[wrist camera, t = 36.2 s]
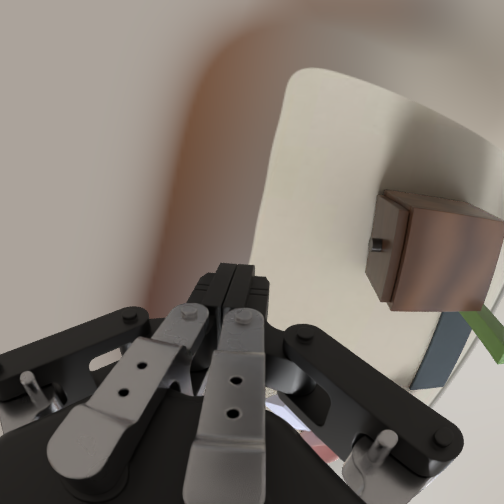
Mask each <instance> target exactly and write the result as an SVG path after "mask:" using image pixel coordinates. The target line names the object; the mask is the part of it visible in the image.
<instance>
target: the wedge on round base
mask: <svg viewBox="0 0 504 504" xmlns="http://www.w3.org/2000/svg"><path fill="white" fill-rule="evenodd" d="M265 405H266V406H267V407H268V408H269V409H270V410H271V411H273V412H274V413H275V414H276V415H278V416H280V417H281V418H283V419H284V420H285V421H287V422H288V423H289V424H290V425H291V426H292V427H293V428H294V429H298V430H306V431H309V432H310V431H311V430H310V429H309V428H308V427H307V426H306V425H305V424H304V423H303V422H302V421H301V420H300V419H299V418H298V417H297V416H296V415H295V414H294V413H293V412H292V411H291V410H290V409H289V408H288V407H287V406H286V405H285V404H284V403H283V402H282V401H281V400H280V398H279V397H278V394H276V395H273V396H271V397H268V398H265Z"/></svg>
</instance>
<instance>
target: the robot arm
mask: <svg viewBox="0 0 504 504" xmlns="http://www.w3.org/2000/svg"><path fill="white" fill-rule="evenodd" d="M269 285H270V283H269V281H268V280H267V278H266V277H260V276H255V265H244V264H238V265H237V264H229V263H220V265H219V267H218V269H217V271H216V273H207V274H205V275H204V276H202V277H201V278H200V280H199V281H198V283H197V285H196V286H195V288H194V290H193V292H192V294H191V295H190V297H189V299H188V301H187V303H184V304H180V305H178V306H176V307H175V308H173V309H172V310H171V312H170V313H169V315H168V316H167V317H166V318H156V319H149V314H148V312H147V311H146V310H145V309H143V308H141V307H126V308H122V309H120V310H117V311H115V312H112V313H109V314H107V315H104V316H101V317H99V318H97V319H94V320H91V321H88V322H86V323H83V324H80V325H78V326H75V327H72V328H70V329H67V330H65V331H62V332H59V333H57V334H54V335H51V336H48V337H46V338H43V339H40V340H38V341H35V342H32V343H30V344H27V345H25V346H22V347H19V348H17V349H14V350H11V351H8V352H6V353H3V354H1V355H0V421H1V426H2V430H3V434H4V435H2V436H1V437H0V504H407V503H408V502H409V501H410V500H411V499H412V498H413V497H415V496H416V495H417V494H418V493H419V492H421V490H423V489H424V488H425V487H426V486H427V485H428V484H429V483H431V482H432V481H433V480H434V479H435V478H436V477H437V476H438V475H439V474H440V473H441V472H442V471H443V470H444V469H445V468H446V467H447V466H448V465H449V464H450V463H451V462H452V461H453V460H454V459H455V458H456V457H457V456H458V455H459V454H460V452H461V451H462V449H463V445H464V439H463V435H462V433H461V431H460V430H459V428H458V427H457V426H456V425H454V424H453V423H452V422H450V421H449V420H447V419H446V418H444V417H443V416H441V415H440V414H438V413H437V412H436V411H434V410H433V409H431V408H430V407H428V406H427V405H426V404H424V403H423V402H421V401H420V400H418V399H417V398H416V397H414V396H413V395H411V394H410V393H408V392H407V391H406V390H404V389H403V388H401V387H400V386H398V385H397V384H396V383H394V382H393V381H391V380H390V379H389V378H387V377H386V376H384V375H383V374H382V373H380V372H379V371H377V370H376V369H375V368H373V367H372V366H370V365H369V364H368V363H366V362H365V361H364V360H362V359H361V358H359V357H358V356H357V355H355V354H354V353H352V352H351V351H350V350H348V349H347V348H346V347H344V346H343V345H342V344H340V343H339V342H337V341H336V340H335V339H333V338H332V337H331V336H329V335H328V334H326V333H325V332H324V331H322V330H321V329H320V328H318V327H316V326H313V325H309V324H296V325H293V326H290V327H289V328H287V329H286V330H285V331H282V330H278V329H276V328H274V327H272V326H271V325H270V324H269V323H268V322H267V315H268V302H269ZM117 348H120V351H121V354H122V357H121V359H120V360H119V361H116V362H114V363H112V364H109V365H107V366H105V367H102V368H100V369H98V370H95V371H90V370H89V363H90V362H91V360H92V359H94V358H95V357H98V356H100V355H102V354H105V353H107V352H110V351H112V350H114V349H117ZM205 387H206V389H205ZM265 387H268V388H271V389H274V390H277V394H278V397H279V398H280V400H281V401H282V402H283V403H284V404H285V405H286V406H287V407H288V408H289V409H290V410H291V411H292V412H293V413H294V414H295V415H296V416H297V417H298V418H299V419H300V420H301V421H302V422H303V423H304V424H305V425H306V426H307V427H308V428H309V429H310V430H311V431H312V432H313V433H314V434H315V435H316V436H317V437H318V438H319V439H320V440H321V441H322V442H323V443H324V444H325V445H326V446H327V447H329V448H330V449H331V450H332V451H333V452H334V453H335V454H336V455H337V456H338V457H339V458H340V459H341V460H343V461H344V462H345V463H344V464H343V467H342V475H343V478H344V480H345V481H346V483H347V484H348V485H349V486H348V485H347V484H346V483H345V482H344V481H343V480H342V479H341V478H340V477H339V476H338V475H337V474H336V473H335V472H334V471H333V470H332V469H331V468H330V467H329V466H328V465H327V463H326V462H325V461H324V460H323V459H322V458H321V457H320V456H319V455H318V454H317V453H316V452H315V451H314V450H313V449H312V448H311V446H310V445H309V444H308V443H307V442H306V441H305V440H304V439H303V438H302V437H301V435H300V434H299V433H298V432H297V431H296V430H295V429H294V428H293V427H292V426H291V425H290V424H289V423H288V422H287V421H285V420H284V419H283V418H281V417H280V416H278V415H276V414H274V413H272V412H270V411H268V410H265ZM204 389H205V395H204V396H202V394H203V392H204Z"/></svg>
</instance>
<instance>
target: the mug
mask: <svg viewBox="0 0 504 504" xmlns="http://www.w3.org/2000/svg"><path fill="white" fill-rule="evenodd" d="M300 435H301V437H302V438H303V439H304V440H305V441H306V442H307V443H308V444H309V445H310V446H311V448H312V449H313V450H314V451H315V452H316V453H317V454H318V455H319V456H320V457H321V458H322V459H323V460H324V461H325V462H326V463H330V462H333V461H335V460H337V459H338V458H339V457H338V456H337V455H336V454H335V453H334V452H333V451H332V450H331V449H330V448H329V447H327V446H326V445H325V444H324V443H323V442H322V441H321V440H320V439H319V438H318V437H317V436H316V435H315V434H314V433H313V432H312V431H310V432H309V431H306V430H304V431H303V432H301V433H300Z"/></svg>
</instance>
